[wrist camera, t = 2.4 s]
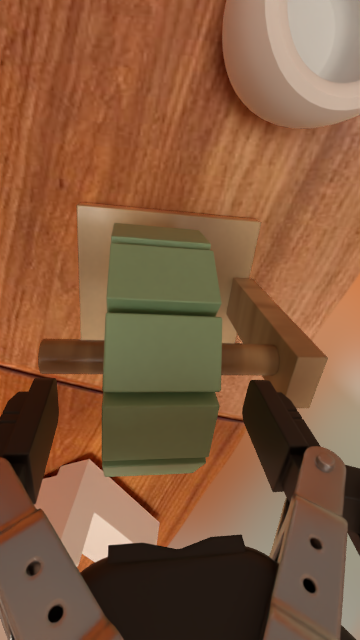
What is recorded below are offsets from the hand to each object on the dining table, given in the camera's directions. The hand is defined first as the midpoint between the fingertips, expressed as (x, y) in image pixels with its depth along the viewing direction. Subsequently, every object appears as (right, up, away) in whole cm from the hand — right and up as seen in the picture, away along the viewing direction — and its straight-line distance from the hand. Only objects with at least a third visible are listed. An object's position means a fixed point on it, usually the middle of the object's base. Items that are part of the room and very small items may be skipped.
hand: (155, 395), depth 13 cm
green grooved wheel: (-1, +2, +3) cm, 4 cm away
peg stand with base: (0, +6, +11) cm, 12 cm away
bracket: (-8, -16, +21) cm, 28 cm away
